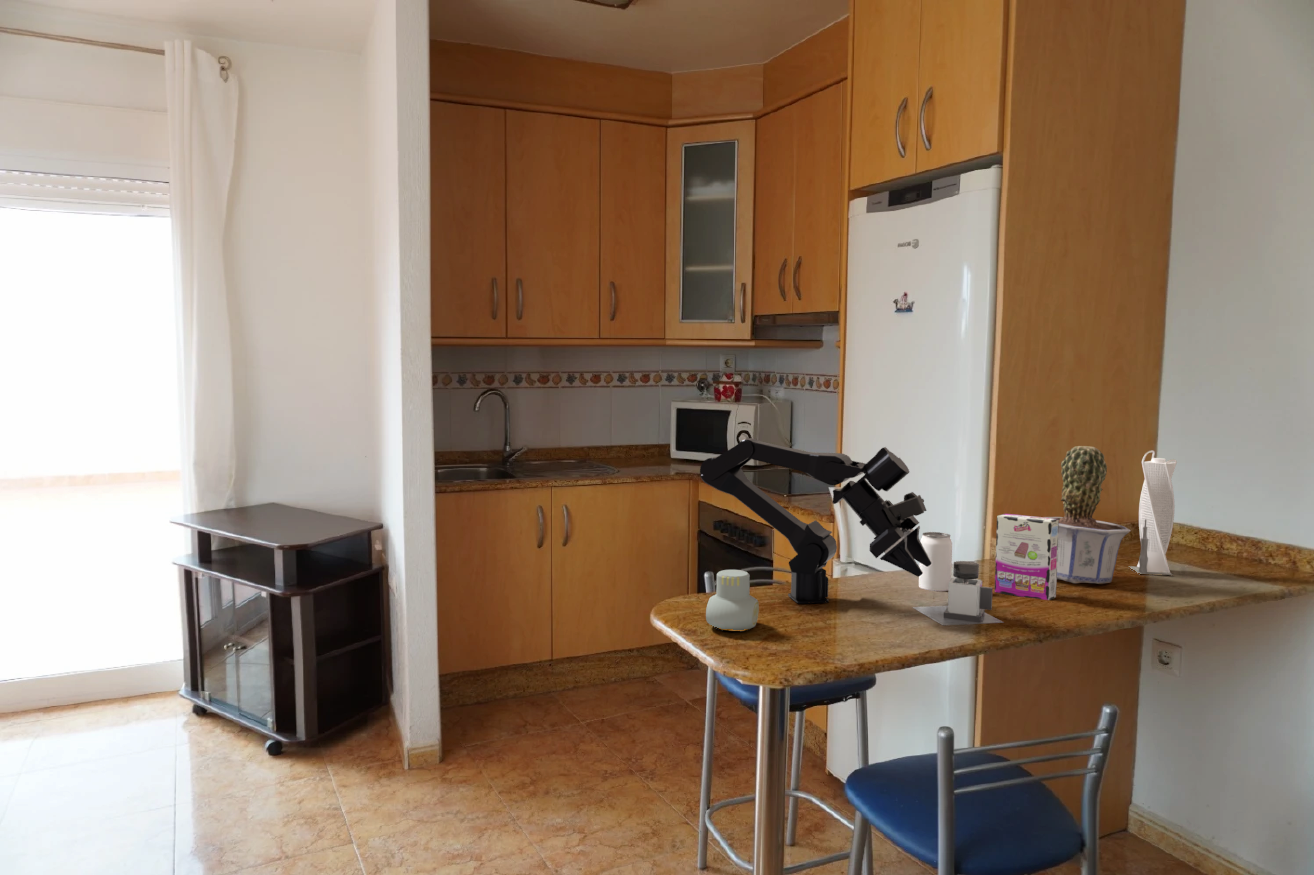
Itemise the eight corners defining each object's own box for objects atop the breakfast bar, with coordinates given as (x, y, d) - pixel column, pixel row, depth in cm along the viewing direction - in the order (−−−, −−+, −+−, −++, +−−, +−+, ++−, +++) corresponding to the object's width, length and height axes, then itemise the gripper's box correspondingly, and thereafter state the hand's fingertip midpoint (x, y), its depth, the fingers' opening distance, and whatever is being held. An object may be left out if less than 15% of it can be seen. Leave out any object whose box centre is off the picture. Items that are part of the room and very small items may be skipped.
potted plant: (1132, 593, 185) (1140, 450, 182) (1040, 585, 190) (1046, 447, 188) (1118, 574, 201) (1124, 443, 199) (1033, 568, 207) (1038, 441, 205)
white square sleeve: (943, 617, 162) (944, 583, 162) (949, 609, 168) (950, 575, 168) (989, 623, 159) (990, 588, 158) (993, 614, 165) (994, 580, 164)
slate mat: (942, 629, 158) (942, 625, 158) (911, 611, 170) (912, 607, 170) (1003, 626, 160) (1003, 622, 160) (969, 608, 172) (969, 604, 172)
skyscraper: (1126, 566, 209) (1132, 449, 207) (1162, 568, 208) (1168, 450, 206) (1140, 574, 201) (1146, 453, 199) (1178, 576, 200) (1185, 453, 198)
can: (952, 595, 182) (954, 538, 181) (919, 593, 183) (921, 536, 182) (948, 587, 188) (950, 532, 187) (917, 586, 189) (918, 531, 188)
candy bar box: (1056, 597, 181) (1060, 518, 179) (1048, 602, 177) (1051, 521, 176) (1002, 588, 188) (1005, 512, 187) (993, 592, 184) (996, 514, 183)
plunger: (950, 605, 163) (951, 564, 162) (954, 600, 167) (955, 560, 166) (975, 608, 161) (977, 567, 160) (978, 603, 165) (980, 562, 164)
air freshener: (750, 638, 152) (750, 581, 151) (703, 634, 154) (703, 578, 153) (760, 621, 162) (760, 567, 162) (716, 617, 165) (716, 564, 164)
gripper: (890, 485, 159) (950, 553, 155) (910, 474, 176) (965, 535, 172) (845, 524, 163) (903, 590, 159) (869, 509, 180) (922, 569, 176)
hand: (925, 570), depth 167 cm, fingers open, 9 cm apart
